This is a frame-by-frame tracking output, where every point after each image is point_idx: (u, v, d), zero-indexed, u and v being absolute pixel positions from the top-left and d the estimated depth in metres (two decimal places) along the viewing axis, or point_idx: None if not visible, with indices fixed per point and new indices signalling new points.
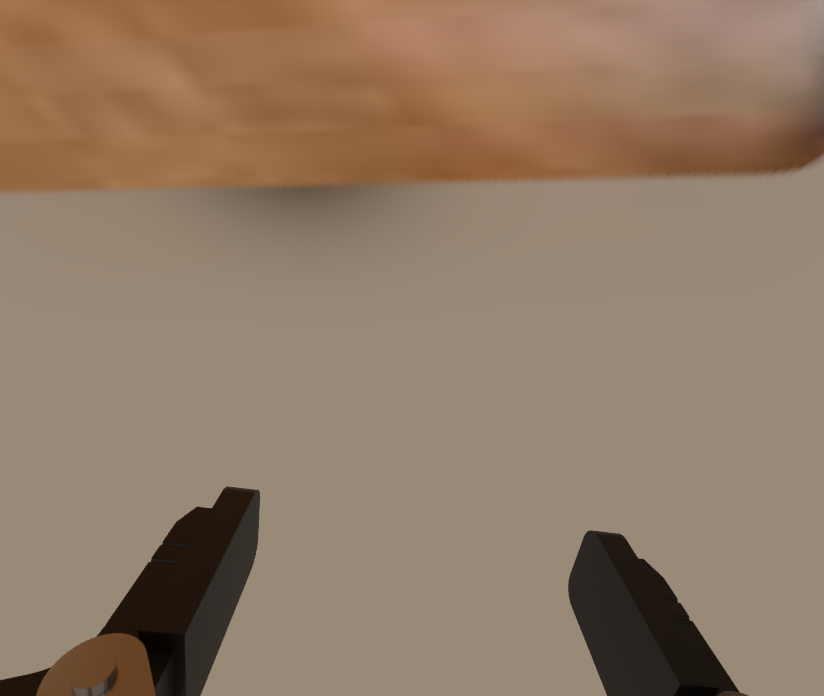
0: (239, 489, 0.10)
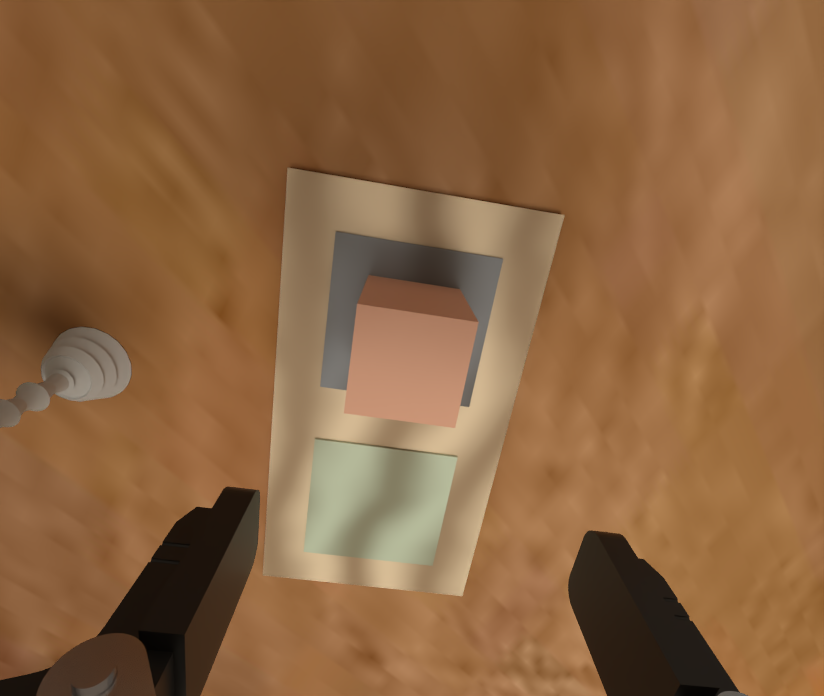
0: (239, 489, 0.10)
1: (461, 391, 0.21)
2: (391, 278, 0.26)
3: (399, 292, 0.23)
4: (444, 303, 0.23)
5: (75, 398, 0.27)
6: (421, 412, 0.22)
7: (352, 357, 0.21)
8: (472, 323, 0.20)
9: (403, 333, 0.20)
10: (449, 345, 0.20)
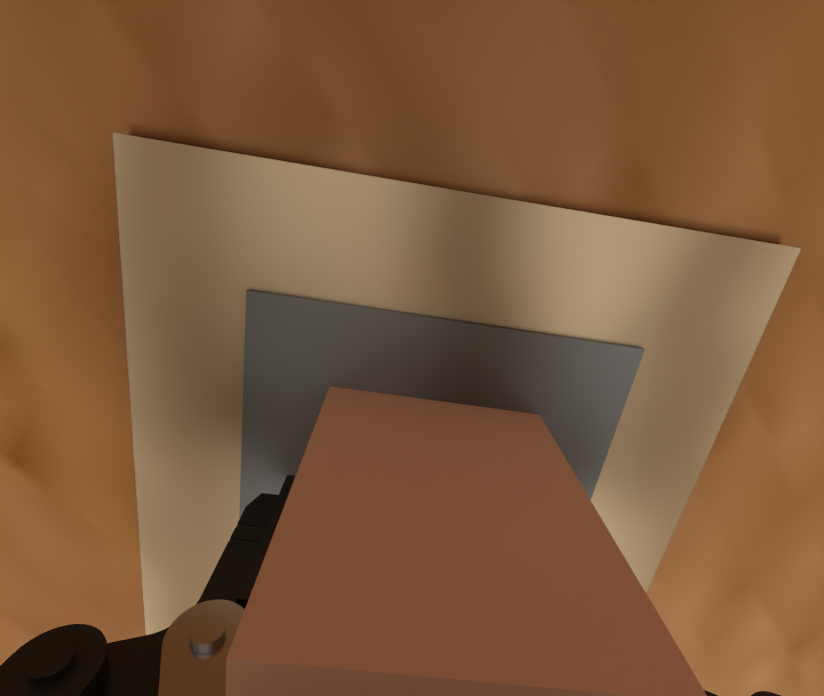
0: None
1: None
2: (383, 393, 0.11)
3: (401, 477, 0.08)
4: (536, 527, 0.08)
5: None
6: None
7: None
8: None
9: None
10: None
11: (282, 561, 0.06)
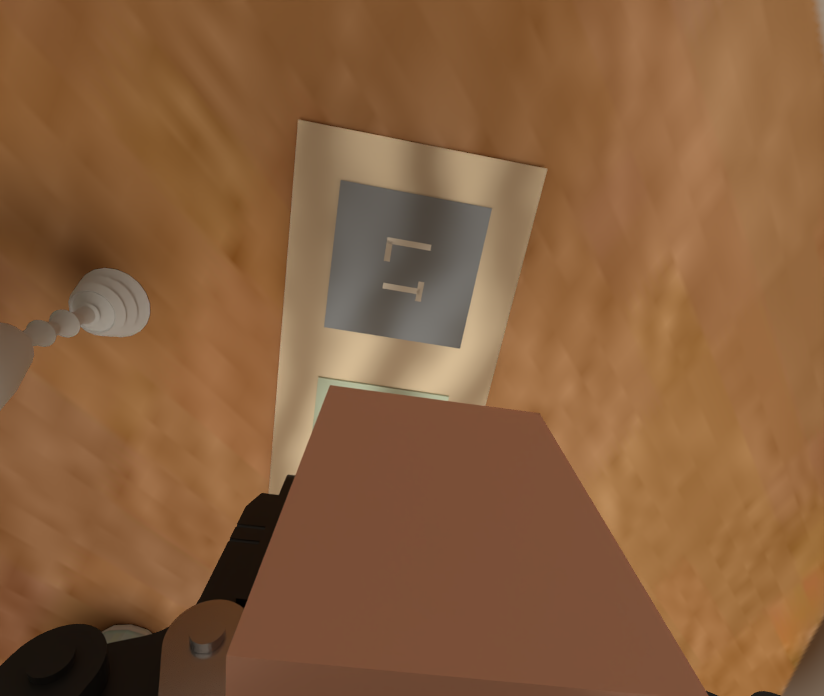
0: None
1: None
2: (383, 392, 0.11)
3: (401, 475, 0.08)
4: (536, 525, 0.08)
5: (99, 332, 0.30)
6: None
7: None
8: None
9: None
10: None
11: (282, 559, 0.06)
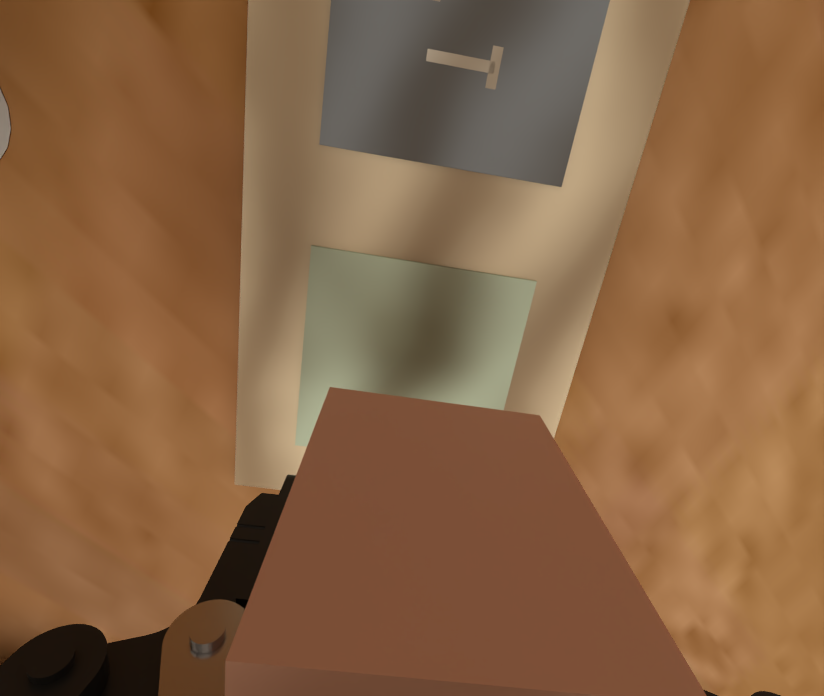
0: None
1: None
2: (383, 394, 0.11)
3: (401, 478, 0.08)
4: (536, 528, 0.07)
5: None
6: None
7: None
8: None
9: None
10: None
11: (281, 563, 0.06)
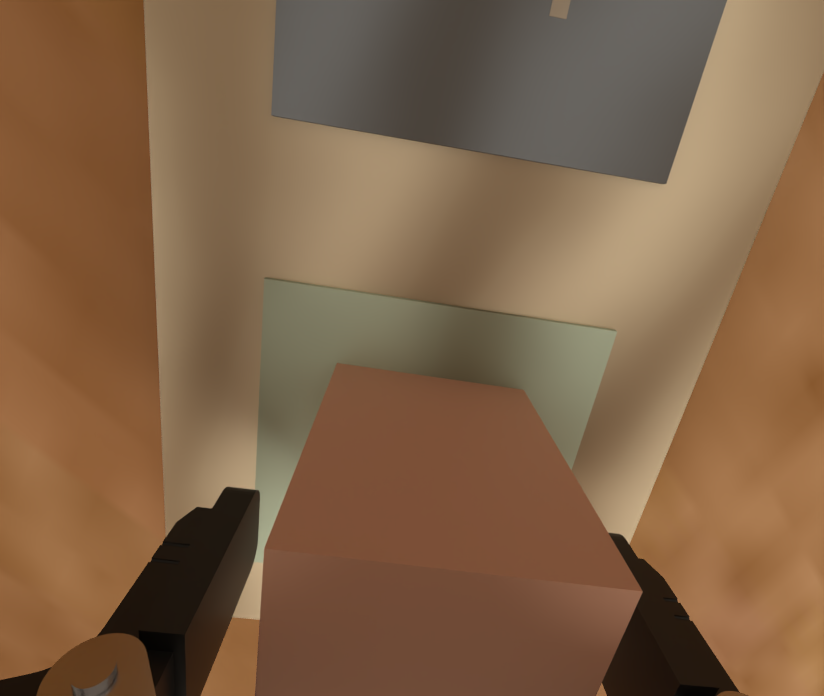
0: (239, 489, 0.10)
1: None
2: None
3: (400, 433, 0.10)
4: (513, 472, 0.09)
5: None
6: None
7: (262, 675, 0.07)
8: (621, 590, 0.07)
9: (410, 619, 0.07)
10: (546, 647, 0.07)
11: (303, 488, 0.07)
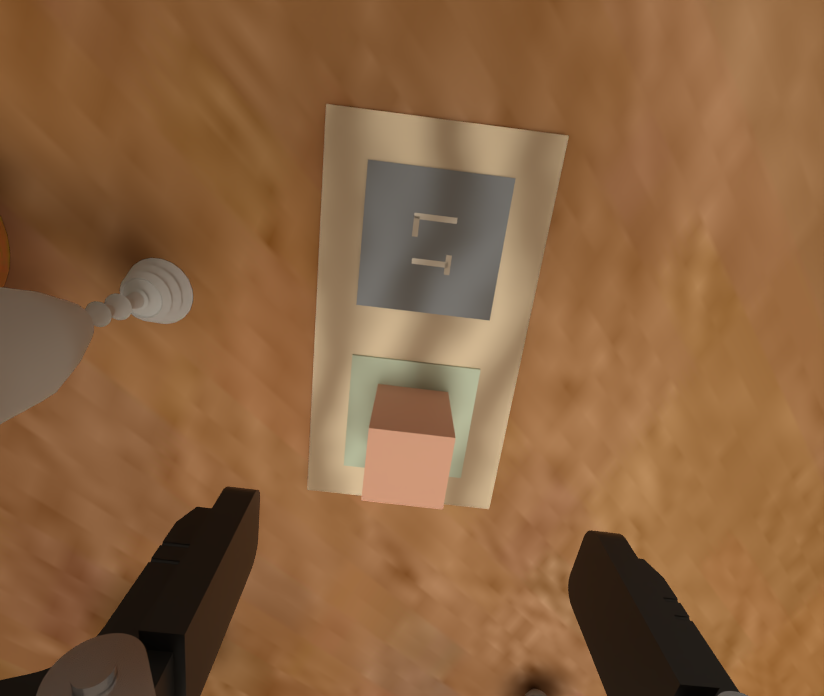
0: (239, 489, 0.10)
1: (446, 484, 0.29)
2: None
3: (400, 406, 0.31)
4: (433, 416, 0.31)
5: (148, 317, 0.32)
6: (417, 499, 0.30)
7: (366, 463, 0.29)
8: (451, 438, 0.28)
9: (401, 446, 0.28)
10: (435, 454, 0.29)
11: (374, 418, 0.29)
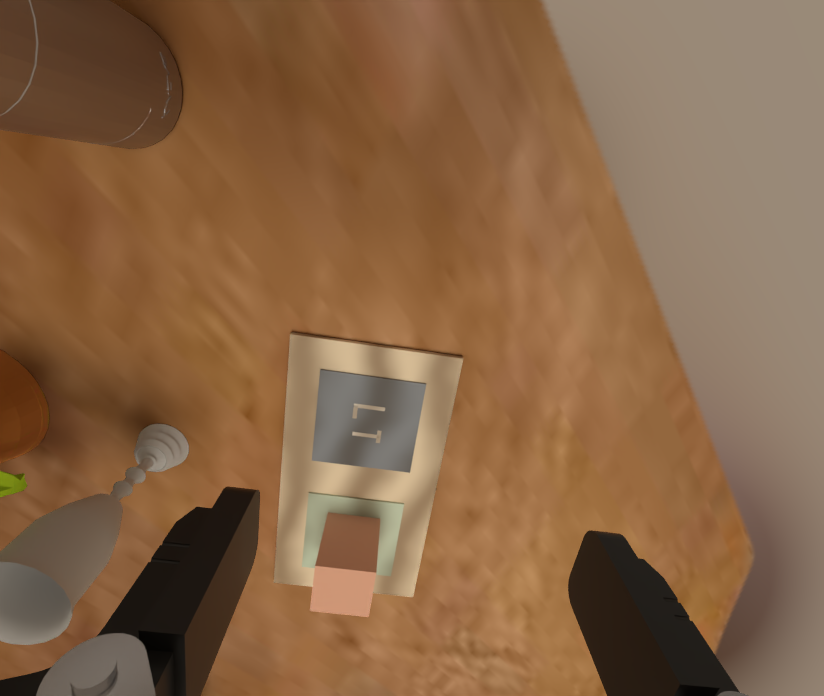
0: (239, 489, 0.10)
1: (370, 601, 0.41)
2: None
3: (341, 538, 0.43)
4: (364, 548, 0.42)
5: (155, 470, 0.43)
6: (350, 610, 0.42)
7: (313, 587, 0.41)
8: (373, 572, 0.40)
9: (338, 577, 0.40)
10: (362, 582, 0.41)
11: (320, 554, 0.41)
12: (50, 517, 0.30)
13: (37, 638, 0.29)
